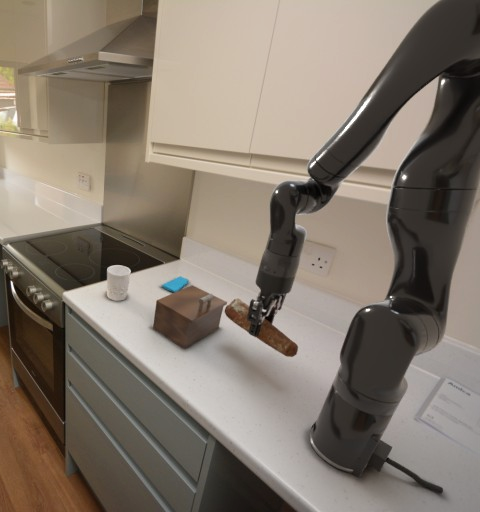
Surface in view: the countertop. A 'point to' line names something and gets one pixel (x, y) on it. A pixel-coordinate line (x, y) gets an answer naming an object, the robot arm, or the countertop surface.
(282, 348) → the bread
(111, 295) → the white cup
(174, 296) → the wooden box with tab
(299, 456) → the countertop surface
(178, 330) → the bread bin
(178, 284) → the sponge
